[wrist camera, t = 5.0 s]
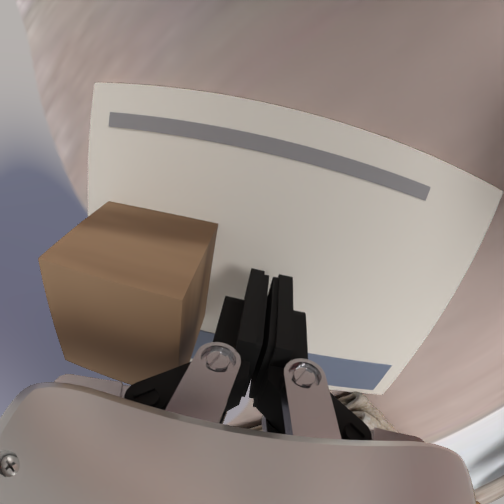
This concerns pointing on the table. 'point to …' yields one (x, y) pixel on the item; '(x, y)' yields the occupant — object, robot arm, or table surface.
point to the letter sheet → (299, 215)
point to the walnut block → (130, 290)
